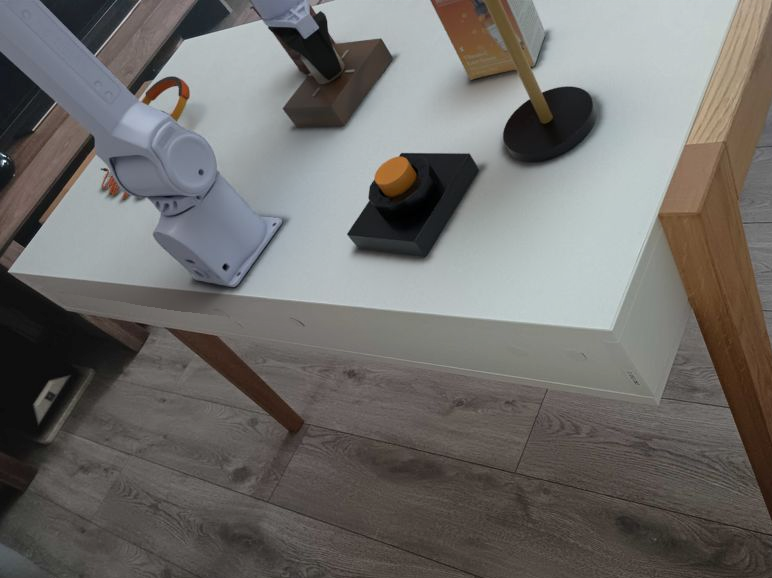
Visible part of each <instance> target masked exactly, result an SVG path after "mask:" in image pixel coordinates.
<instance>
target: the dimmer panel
mask: <svg viewBox="0 0 772 578" xmlns="http://www.w3.org/2000/svg"><path fill="white" fill-rule="evenodd" d="M332 46H333V47H334V49H335V50H336V52H337V53H338V55H339V56H340V58H341V59H342V61H343V62H344V64H345V67H344V70H343V71H342V73H341V74H340V75H339V76H338V77H337V78H335V79H334V80H332V81H331V82H329V83H326V84H319V83H318V82H317V81H316V79H315V78H314V76H313V75H312V74H311V72H310V73H309V75H307V76H306V77H305V79H304V80H303V81H302V82H301V83H300V85H299V86H298V87H297V89H296V90H295V92H294V93H293V94H292V96H291V97H290V98H289V99H288V101H287V102H286V103H285V104H284V105H283V107H282V111H284V113H285V115H286V116H287V117H288V119H289V120H290V121H291V122H292V124H293V125H294V126H295V127H296V128H312V127H313V128H314V127H316V128H317V127H345V126H346V125H347V123H348V122H349V121H350V119H351V118H352V116H353V115H354V114H355V112H356V111H357V109H358V107H360V105H361V104H362V102H363V101H364V99H365V98H366V97H367V95H368V94H369V92H371V90H372V88H373V87H374V86H375V84H376V83H377V81H378V80H380V78H381V76H382V75H383V73H384V72H385V71H386V69H387V68H388V66H389V65H390V64H391V63H392V61H393V59H394V57H393V55H392V53H391V52H390V50H389V49H388V47H387V45H386V44H385V42H384V41H383V38H381V37H380V38H371V39H363V40H356V41H355V40H354V41H347V42H346V41H345V42H338V43H336V44H332Z"/></svg>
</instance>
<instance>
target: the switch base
mask: <svg viewBox="0 0 772 578" xmlns="http://www.w3.org/2000/svg"><path fill="white" fill-rule="evenodd" d="M398 157H405V158H406V159H407V160H408V162H409V163H410V165H411V166H412V168H413V169H414V171H415V172H416V174H417V178H416V180H415V182H414V183H413V185H412V186H411V187H410V188H408V189H407V190H406V191H405V192H403V193H402V194H400V195H397V196H394V197H387V196H386V195H385V194H384V193H383V192H382V190H381V189H380V187H379V186H378V185H377V183H376V182H375V179H373V180H372V182H371V184H369V189H368V202H367V203H366V204H365V206H364V208H363V209H362V211H361V212H360V213H359V215H358V216H357V218H356V220H355V222H354V223H353V224H352V226H351V227H350V229H349V230H348V232H347V233H346V235H347V237H348V238H349V239H350V240H351V242H352V243H353V244H354V245H355V246H356V247H357V249H359V250H367V251H374V252H384V253H391V254H400V255H409V256H417V257H427V256H428V255H429V253H430V252H431V249H432V248H433V246H434V245H435V243H436V241H437V240H438V238H439V237H440V236H441V234H442V232H443V230H444V228H445V226H446V225H447V223H448V222H449V220H450V218H451V217H452V215H453V213H454V212H455V210H456V208H457V207H458V206H459V204H460V202H461V200H462V199H463V197H464V196H465V194H466V192H467V191H468V189H469V187H470V185H472V182H473V181H474V180H475V177H476V176H477V174H478V173H479V171H480V168H479V166H478V165H477V163H476V162H475V160H474V157H473V156H472V155H471V153H469V152H468V153H466V152H465V153H461V152H459V153H458V152H456V153H455V152H454V153H453V152H441V153H440V152H401V153H400V154H399V156H398Z"/></svg>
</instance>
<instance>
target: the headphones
mask: <svg viewBox="0 0 772 578" xmlns="http://www.w3.org/2000/svg"><path fill="white" fill-rule="evenodd" d="M173 87H178V92H177V93H178V97H179V98H178V100H177V103H176V105H175V107H174V109H173V111H172V112H171V114H170V113H168V112H166V111H164V110H160V109H159V110H160V111H162V112H164V113H166V114H168V115H170V116H171V117H172V118H173V119H174V120H175V121H176V122H177V123H178V121H179V119H180V117H181V116H182V114H183V112H184V110H185V107H186V105H187V102H188V100H190V97H191V96H190V94H191V91H190V86H189V85H188V84H187V82H185V81H184V80H183V79H181V78H179V77H177V76H166V77H164V78H162V79H159V80H158V81H157V82H154V84H153V85H151V86H150V87H149V88H148V89H147V90H146V92H145V95H144V97H143V98H142V100H141V101H140V102H142V103H144V104H146V105H149V106H150V104H151V103H152V102H153V101H155V100H156V99H157V98H158V97H159V96H160V95H161V94H163V92H165V91H166V90H168V89H170V88H173ZM100 171H103V172H106V174H105V177H104V179H103V180H102V182H101V189H106V188H108V187H110V188H109V191H108V194H109V195H112V196H113V197H115V196H116V195H117V193H118V192H119V190H120V189H121V188H120V187H119V186H118V185H117V183H116V182H115V180H114V178H113V176H112V175H110V178H109V180H108V181H107V183H106V185H105V186H104V184H105V182H106V180H107V178H108V176H109V174H110V169H109V168H108V167H107V168H106V167H103V168H102V167H100ZM128 195H129V194H128V193H126V192H124V193H123V195H122V200H125V199H126V198H127V197H128ZM136 198H137V199H138V197H136Z"/></svg>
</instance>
